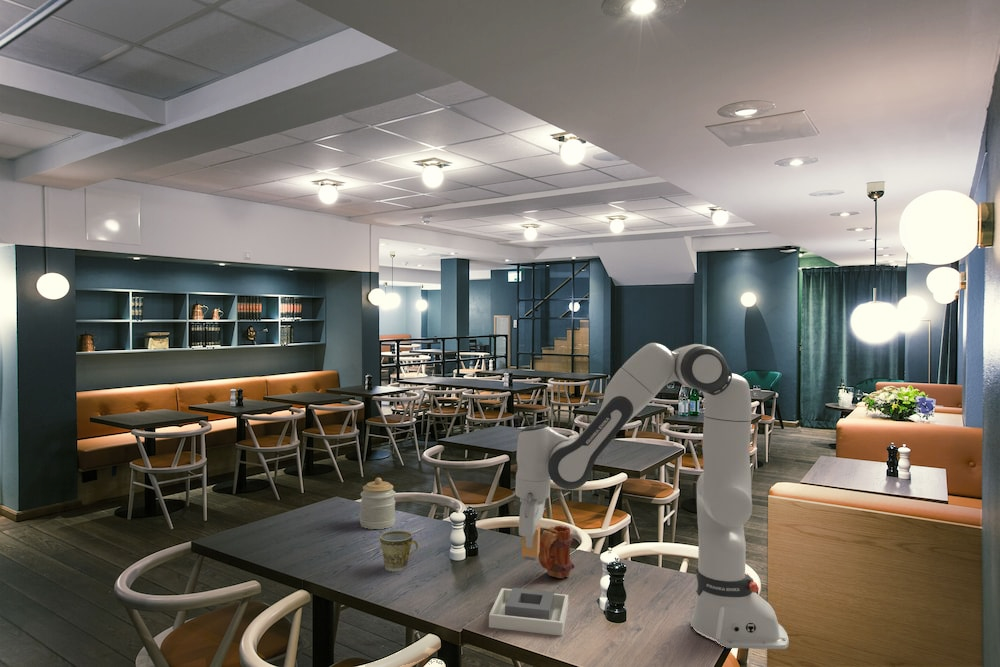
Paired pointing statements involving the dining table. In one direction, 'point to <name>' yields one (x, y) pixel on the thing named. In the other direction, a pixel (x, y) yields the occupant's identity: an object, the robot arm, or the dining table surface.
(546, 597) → the socket block
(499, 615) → the walled box
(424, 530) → the dining table surface
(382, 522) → the jar
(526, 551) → the plug
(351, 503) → the dining table surface
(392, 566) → the ceramic cup
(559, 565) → the mug
